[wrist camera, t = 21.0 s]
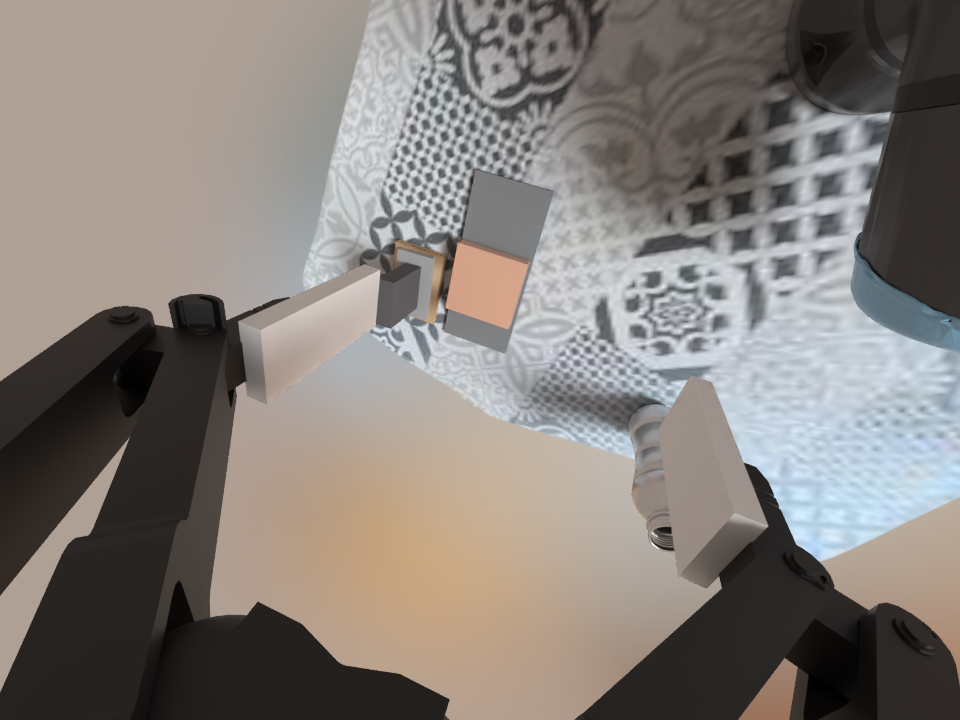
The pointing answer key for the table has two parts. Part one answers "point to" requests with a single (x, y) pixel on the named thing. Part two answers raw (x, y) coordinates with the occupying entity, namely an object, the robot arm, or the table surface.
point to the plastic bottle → (651, 475)
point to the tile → (486, 283)
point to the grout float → (405, 288)
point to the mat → (500, 241)
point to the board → (437, 274)
